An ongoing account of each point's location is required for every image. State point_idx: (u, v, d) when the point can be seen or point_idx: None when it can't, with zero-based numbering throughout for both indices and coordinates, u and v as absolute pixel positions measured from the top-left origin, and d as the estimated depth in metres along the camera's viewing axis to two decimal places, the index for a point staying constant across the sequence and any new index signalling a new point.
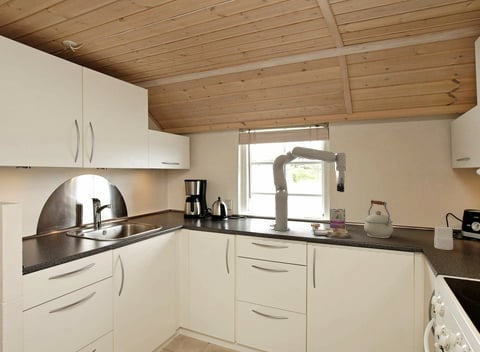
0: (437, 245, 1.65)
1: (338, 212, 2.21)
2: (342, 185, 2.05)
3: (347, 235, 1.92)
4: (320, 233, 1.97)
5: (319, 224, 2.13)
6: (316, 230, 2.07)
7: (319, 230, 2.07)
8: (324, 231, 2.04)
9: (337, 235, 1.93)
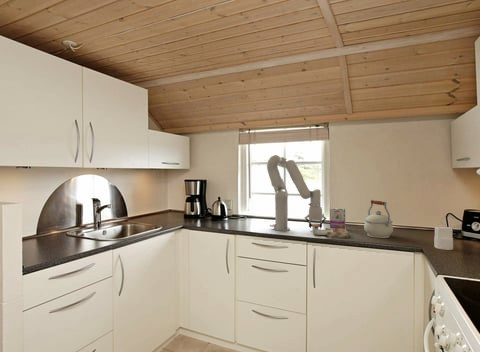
0: (437, 245, 1.65)
1: (338, 212, 2.21)
2: None
3: (347, 235, 1.92)
4: (320, 233, 1.97)
5: (319, 224, 2.13)
6: (316, 230, 2.07)
7: (319, 230, 2.07)
8: (324, 231, 2.04)
9: (337, 235, 1.93)
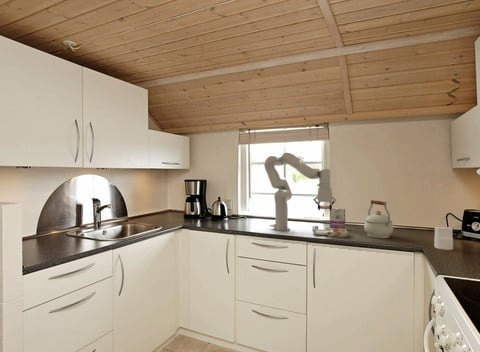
0: (437, 245, 1.65)
1: (338, 212, 2.21)
2: (332, 203, 2.00)
3: (347, 235, 1.92)
4: (320, 233, 1.97)
5: (329, 206, 2.00)
6: (316, 230, 2.07)
7: (319, 230, 2.07)
8: (324, 231, 2.04)
9: (337, 235, 1.93)
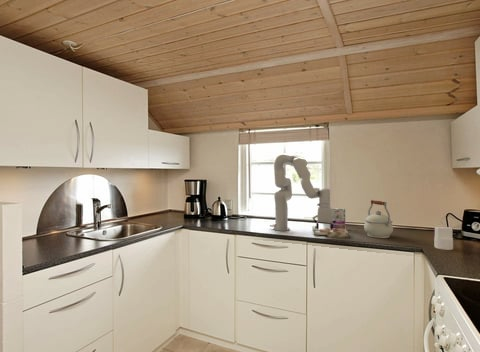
0: (437, 245, 1.65)
1: (338, 212, 2.21)
2: None
3: (347, 235, 1.92)
4: (320, 233, 1.97)
5: (329, 230, 2.00)
6: (316, 230, 2.07)
7: (319, 230, 2.07)
8: None
9: (337, 235, 1.93)
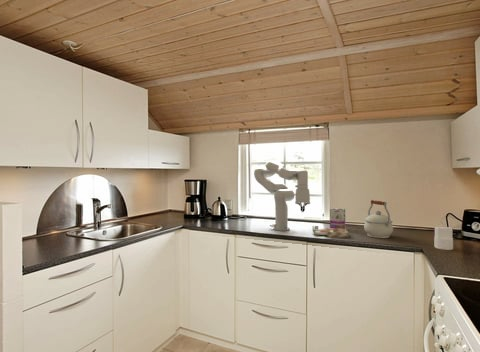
0: (437, 245, 1.65)
1: (338, 212, 2.21)
2: (305, 205, 2.04)
3: (347, 235, 1.92)
4: (320, 233, 1.97)
5: (329, 230, 2.00)
6: (316, 230, 2.07)
7: (319, 230, 2.07)
8: None
9: (337, 235, 1.93)
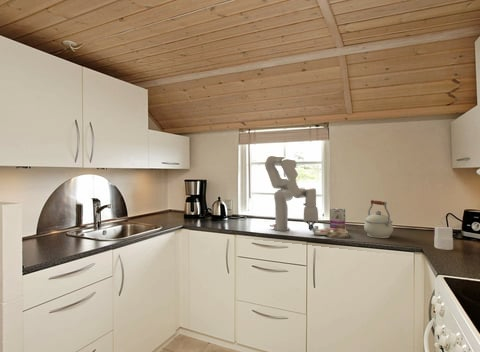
0: (437, 245, 1.65)
1: (338, 212, 2.21)
2: (314, 223, 2.03)
3: (347, 235, 1.92)
4: (320, 233, 1.97)
5: (329, 230, 2.00)
6: (316, 230, 2.07)
7: (319, 230, 2.07)
8: None
9: (337, 235, 1.93)
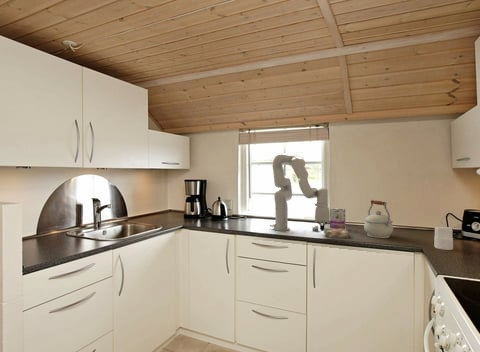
0: (437, 245, 1.65)
1: (338, 212, 2.21)
2: (325, 224, 2.01)
3: (347, 235, 1.92)
4: None
5: (341, 230, 1.98)
6: None
7: (330, 230, 2.05)
8: None
9: (337, 235, 1.93)
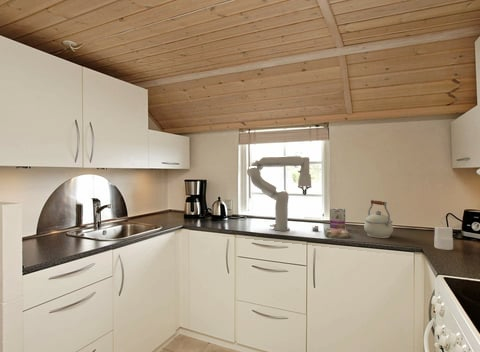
0: (437, 245, 1.65)
1: (338, 212, 2.21)
2: (307, 188, 2.24)
3: (347, 235, 1.92)
4: None
5: (340, 230, 1.98)
6: None
7: (330, 230, 2.05)
8: None
9: (337, 235, 1.93)
